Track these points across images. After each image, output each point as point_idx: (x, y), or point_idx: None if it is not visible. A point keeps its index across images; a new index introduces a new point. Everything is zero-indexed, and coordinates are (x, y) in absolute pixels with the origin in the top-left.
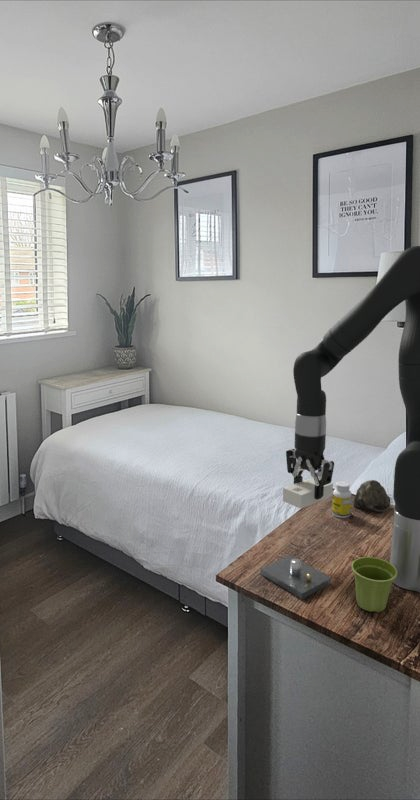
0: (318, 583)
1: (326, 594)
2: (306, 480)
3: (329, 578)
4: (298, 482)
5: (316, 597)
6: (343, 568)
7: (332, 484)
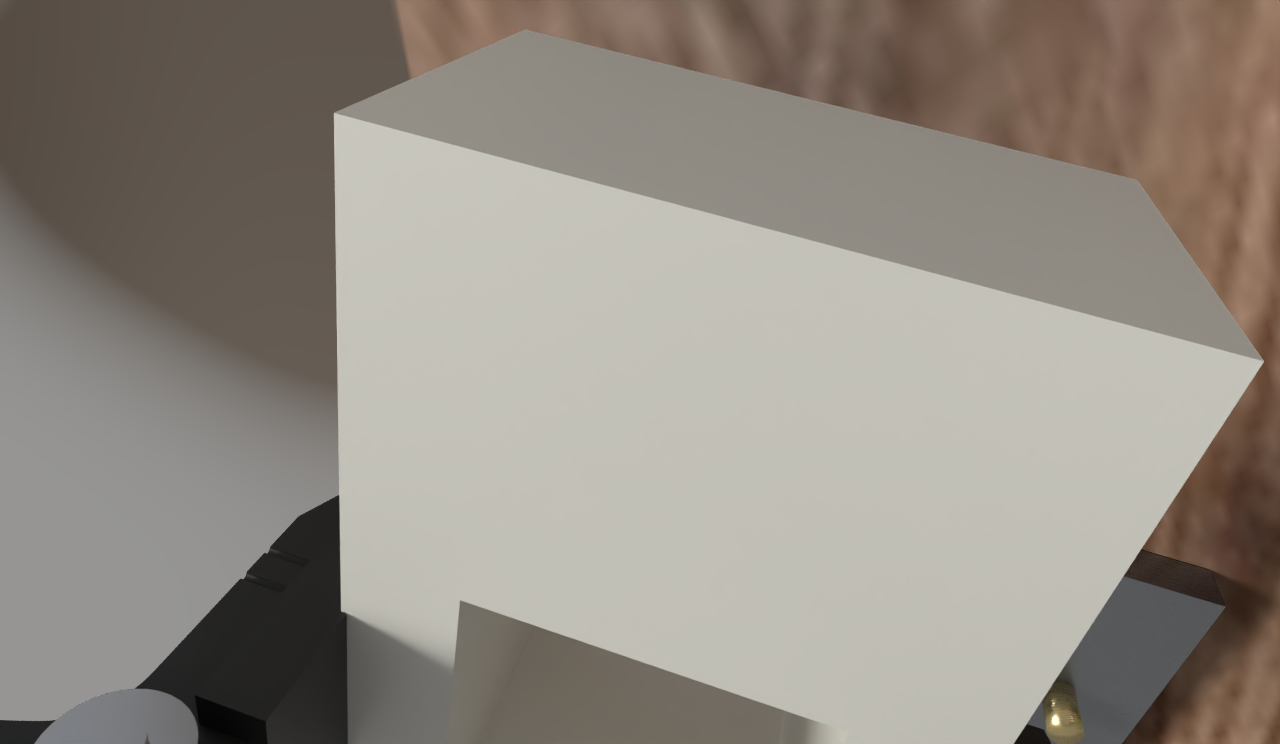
0: (1141, 697)
1: (1209, 684)
2: (375, 528)
3: (1212, 622)
4: (346, 717)
5: (1147, 729)
6: (1270, 324)
7: (1233, 361)
